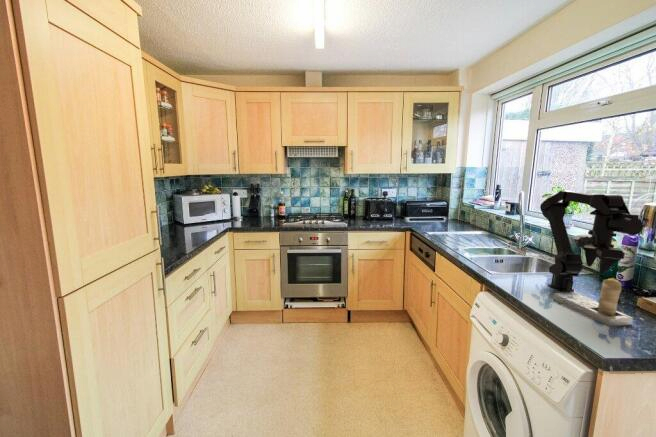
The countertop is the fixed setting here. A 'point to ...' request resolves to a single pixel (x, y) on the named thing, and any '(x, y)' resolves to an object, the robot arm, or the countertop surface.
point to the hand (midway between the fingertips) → (594, 269)
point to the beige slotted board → (591, 309)
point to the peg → (609, 297)
